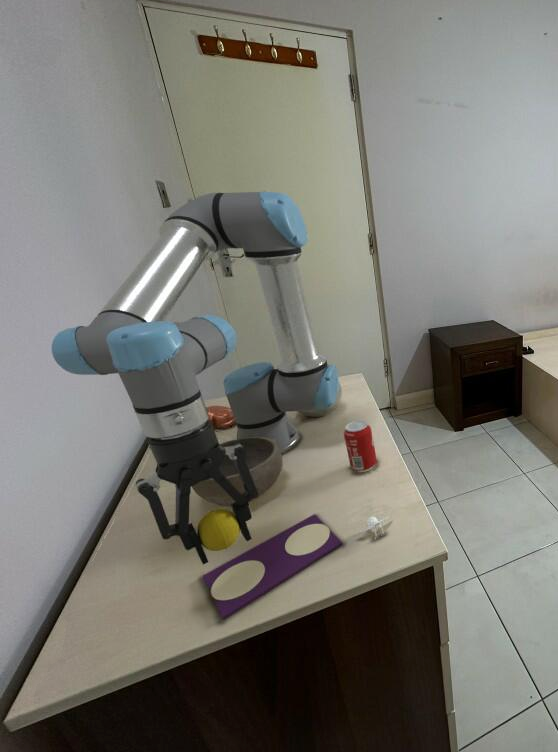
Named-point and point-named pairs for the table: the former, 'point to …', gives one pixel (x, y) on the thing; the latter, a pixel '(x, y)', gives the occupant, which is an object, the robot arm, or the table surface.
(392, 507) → the table surface
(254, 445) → the bowl
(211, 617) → the table surface
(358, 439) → the beverage can
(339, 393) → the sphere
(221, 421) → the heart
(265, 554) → the placemat
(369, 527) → the white bird figurine
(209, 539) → the lemon
